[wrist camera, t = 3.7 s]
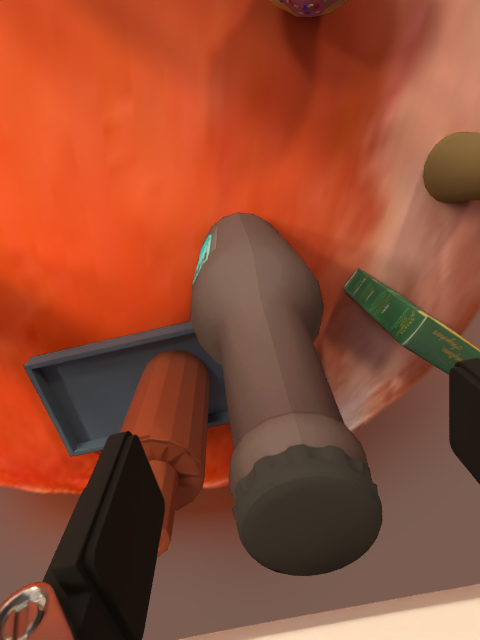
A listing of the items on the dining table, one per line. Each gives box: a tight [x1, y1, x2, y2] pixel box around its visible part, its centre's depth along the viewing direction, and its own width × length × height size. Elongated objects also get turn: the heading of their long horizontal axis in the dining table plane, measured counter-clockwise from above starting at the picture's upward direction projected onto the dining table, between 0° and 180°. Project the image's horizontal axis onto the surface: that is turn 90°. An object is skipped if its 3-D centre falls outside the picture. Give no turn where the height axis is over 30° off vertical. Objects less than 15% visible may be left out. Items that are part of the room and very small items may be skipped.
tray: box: [24, 321, 230, 457], centre depth 40 cm, size 28×12×2 cm, turn 103°
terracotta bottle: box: [119, 350, 210, 557], centre depth 31 cm, size 7×7×19 cm
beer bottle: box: [190, 213, 382, 576], centre depth 22 cm, size 8×8×30 cm
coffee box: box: [343, 269, 480, 374], centre depth 32 cm, size 8×3×13 cm, turn 57°
